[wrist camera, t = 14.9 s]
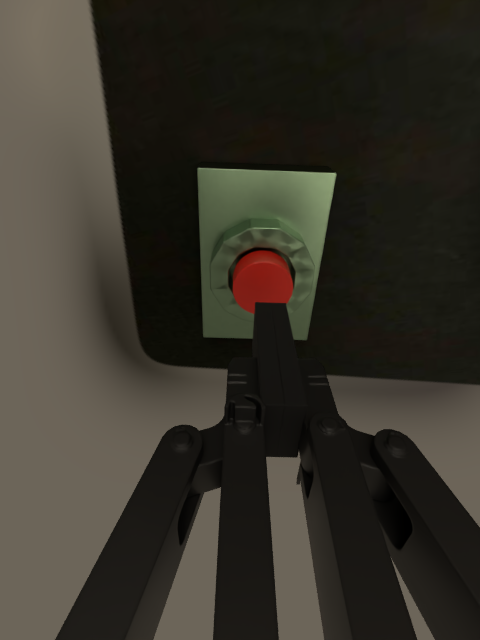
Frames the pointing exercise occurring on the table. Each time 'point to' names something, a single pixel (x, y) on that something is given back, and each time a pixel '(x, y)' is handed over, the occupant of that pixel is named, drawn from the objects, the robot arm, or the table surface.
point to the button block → (260, 236)
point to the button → (261, 280)
